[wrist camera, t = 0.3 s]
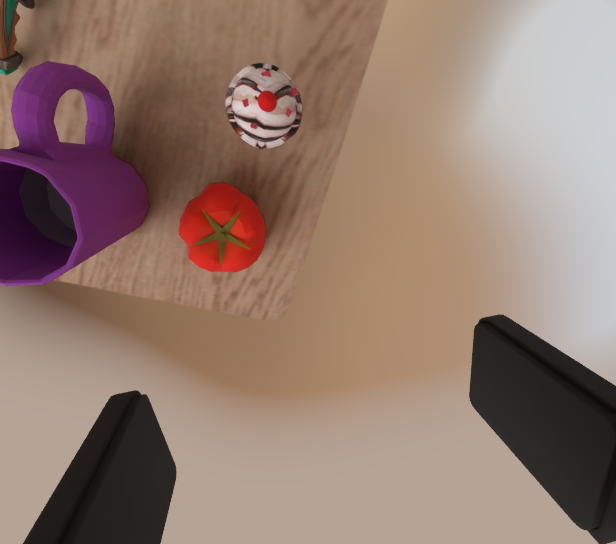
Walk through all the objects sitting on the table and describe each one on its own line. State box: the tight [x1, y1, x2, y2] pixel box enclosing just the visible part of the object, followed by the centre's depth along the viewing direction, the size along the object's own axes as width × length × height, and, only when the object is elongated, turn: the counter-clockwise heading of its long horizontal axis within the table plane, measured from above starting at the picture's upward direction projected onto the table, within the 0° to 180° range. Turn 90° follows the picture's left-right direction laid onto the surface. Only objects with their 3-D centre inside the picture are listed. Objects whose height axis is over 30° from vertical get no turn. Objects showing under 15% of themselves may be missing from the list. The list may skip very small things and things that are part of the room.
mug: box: [0, 61, 149, 286], centre depth 26 cm, size 9×16×15 cm, turn 165°
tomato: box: [179, 183, 266, 272], centre depth 34 cm, size 9×9×8 cm
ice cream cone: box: [226, 63, 302, 149], centre depth 27 cm, size 6×6×15 cm
